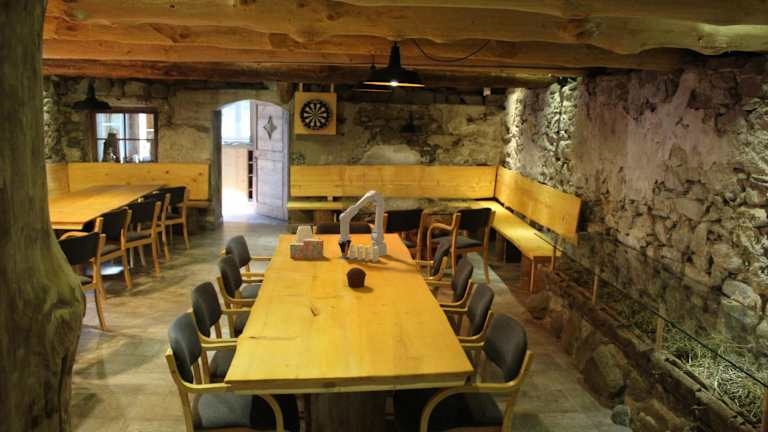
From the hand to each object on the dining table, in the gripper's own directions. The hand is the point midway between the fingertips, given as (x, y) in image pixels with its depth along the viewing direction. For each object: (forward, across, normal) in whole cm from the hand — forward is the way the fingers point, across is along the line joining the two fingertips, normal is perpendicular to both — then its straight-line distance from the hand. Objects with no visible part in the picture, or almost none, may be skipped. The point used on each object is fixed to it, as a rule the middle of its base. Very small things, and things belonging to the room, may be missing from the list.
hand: (344, 251), depth 402 cm
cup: (+5, -24, -44) cm, 50 cm away
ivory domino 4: (+4, 0, +22) cm, 22 cm away
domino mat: (+4, 0, +10) cm, 11 cm away
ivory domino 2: (+4, 0, +11) cm, 12 cm away
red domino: (+3, 0, 0) cm, 3 cm away
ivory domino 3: (+4, 0, +16) cm, 17 cm away
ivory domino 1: (+4, 0, +6) cm, 7 cm away
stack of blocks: (+5, +7, -25) cm, 26 cm away
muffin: (+5, +56, +35) cm, 66 cm away
